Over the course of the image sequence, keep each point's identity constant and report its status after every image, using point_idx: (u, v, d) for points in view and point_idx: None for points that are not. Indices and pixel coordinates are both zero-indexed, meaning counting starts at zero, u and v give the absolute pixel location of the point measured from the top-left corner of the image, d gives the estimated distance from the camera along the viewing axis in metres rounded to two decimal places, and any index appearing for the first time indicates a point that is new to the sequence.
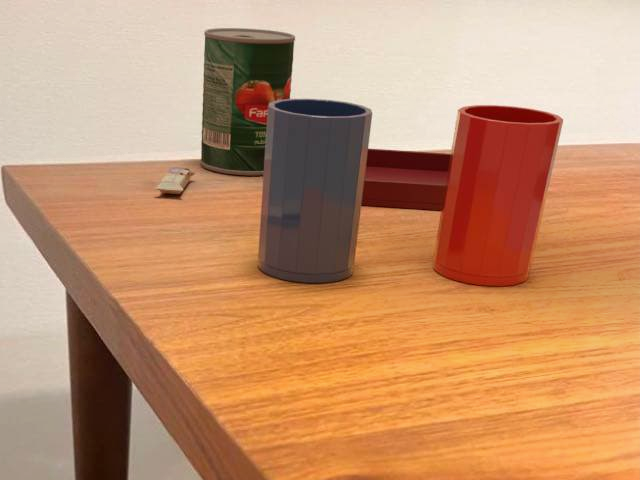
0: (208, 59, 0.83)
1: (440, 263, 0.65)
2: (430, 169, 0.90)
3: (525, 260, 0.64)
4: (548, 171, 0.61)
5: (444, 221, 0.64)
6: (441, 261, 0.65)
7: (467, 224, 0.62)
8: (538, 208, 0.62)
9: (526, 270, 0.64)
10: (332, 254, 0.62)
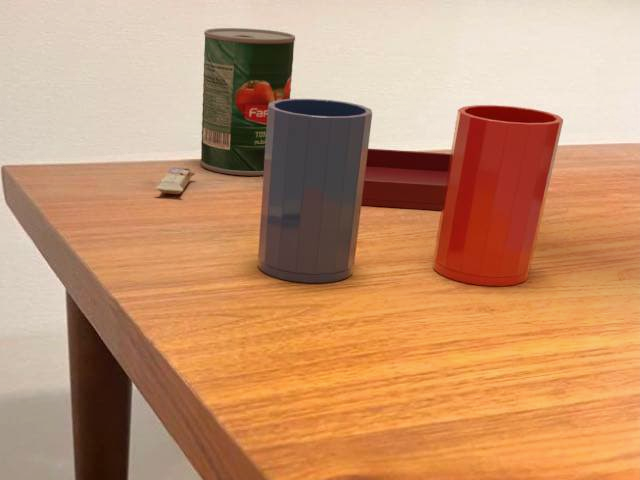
0: (208, 59, 0.83)
1: (440, 263, 0.65)
2: (430, 169, 0.90)
3: (525, 260, 0.64)
4: (548, 171, 0.61)
5: (444, 221, 0.64)
6: (441, 261, 0.65)
7: (467, 224, 0.62)
8: (538, 208, 0.62)
9: (526, 270, 0.64)
10: (332, 254, 0.62)
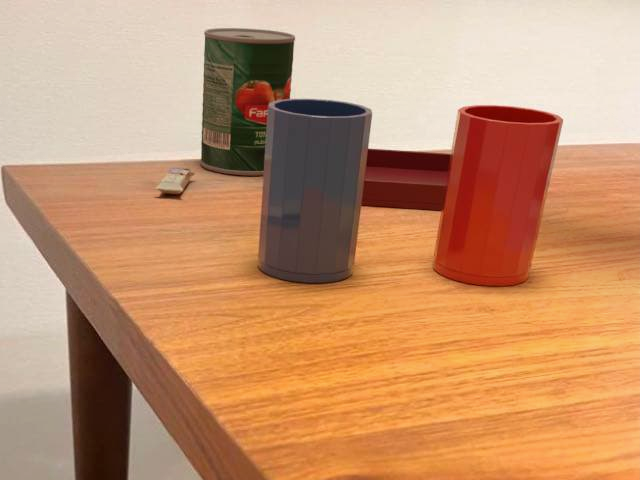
0: (208, 59, 0.83)
1: (440, 263, 0.65)
2: (430, 169, 0.90)
3: (525, 260, 0.64)
4: (548, 171, 0.61)
5: (444, 221, 0.64)
6: (441, 261, 0.65)
7: (467, 224, 0.62)
8: (538, 208, 0.62)
9: (526, 270, 0.64)
10: (332, 254, 0.62)
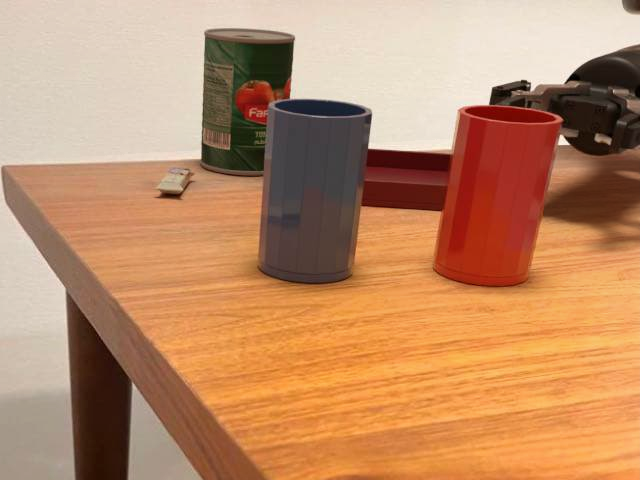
0: (207, 59, 0.83)
1: (440, 263, 0.65)
2: (430, 169, 0.90)
3: (525, 260, 0.64)
4: (548, 171, 0.61)
5: (444, 221, 0.64)
6: (441, 261, 0.65)
7: (467, 224, 0.62)
8: (538, 208, 0.62)
9: (526, 270, 0.64)
10: (332, 254, 0.62)
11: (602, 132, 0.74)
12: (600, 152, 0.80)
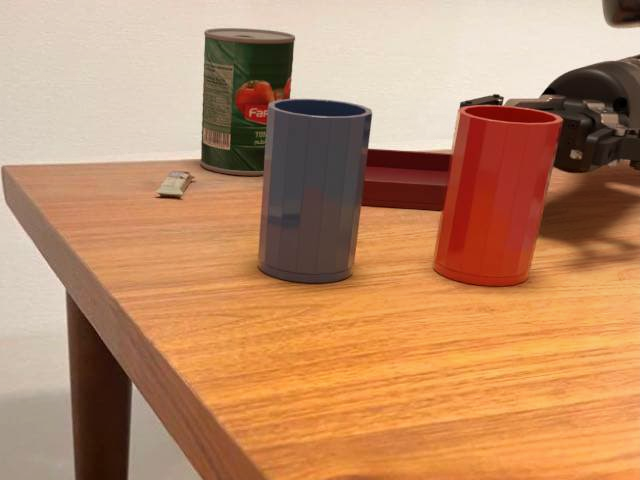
0: (208, 59, 0.83)
1: (440, 263, 0.65)
2: (430, 169, 0.90)
3: (525, 260, 0.64)
4: (548, 171, 0.61)
5: (444, 221, 0.64)
6: (441, 261, 0.65)
7: (467, 224, 0.62)
8: (538, 208, 0.62)
9: (526, 270, 0.64)
10: (332, 254, 0.62)
11: (576, 148, 0.70)
12: (578, 169, 0.75)
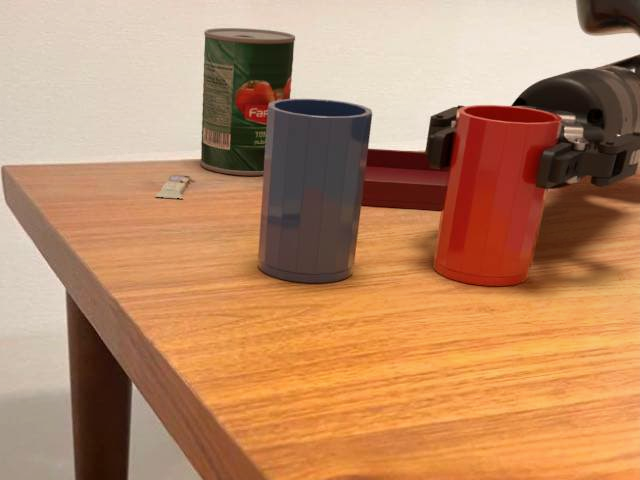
0: (208, 59, 0.83)
1: (440, 263, 0.65)
2: (430, 169, 0.90)
3: (525, 260, 0.64)
4: None
5: (444, 222, 0.64)
6: (441, 261, 0.65)
7: (467, 224, 0.62)
8: (538, 208, 0.62)
9: (526, 270, 0.64)
10: (332, 254, 0.62)
11: None
12: None
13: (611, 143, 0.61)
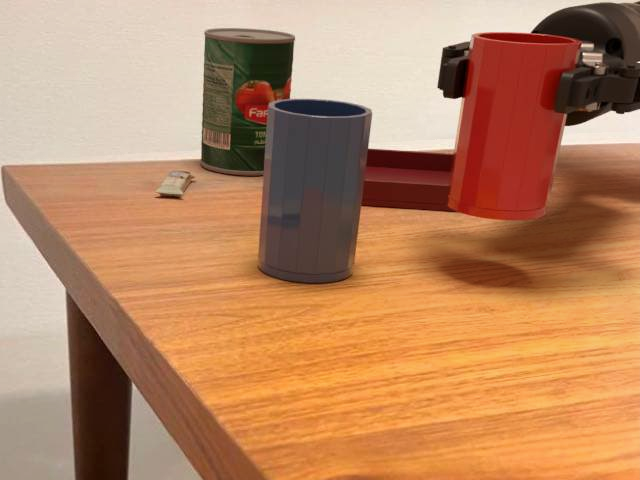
0: (208, 59, 0.83)
1: (454, 199, 0.63)
2: (430, 169, 0.90)
3: (543, 193, 0.61)
4: None
5: (458, 154, 0.62)
6: (455, 196, 0.63)
7: (482, 155, 0.60)
8: (556, 136, 0.60)
9: (544, 204, 0.62)
10: (332, 254, 0.62)
11: None
12: (568, 121, 0.68)
13: (632, 66, 0.58)
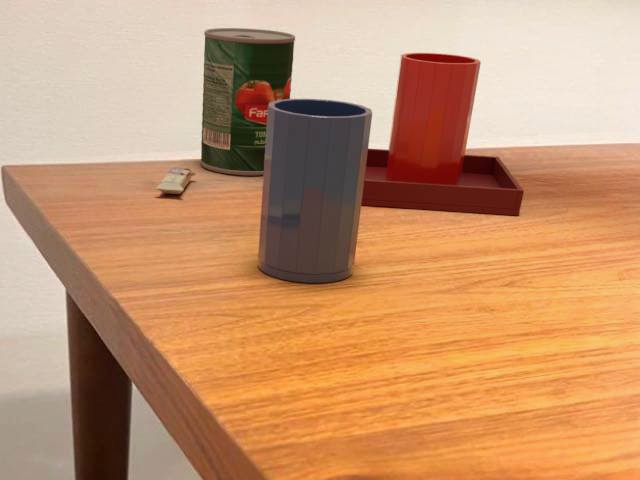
0: (208, 59, 0.83)
1: (389, 177, 0.83)
2: None
3: (454, 173, 0.82)
4: (469, 102, 0.79)
5: (391, 144, 0.82)
6: (390, 175, 0.83)
7: (408, 144, 0.81)
8: (462, 131, 0.80)
9: (455, 182, 0.83)
10: (332, 254, 0.62)
11: None
12: None
13: None
